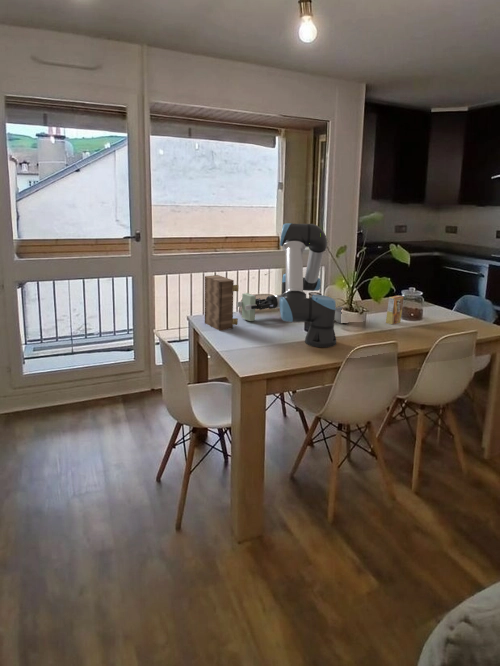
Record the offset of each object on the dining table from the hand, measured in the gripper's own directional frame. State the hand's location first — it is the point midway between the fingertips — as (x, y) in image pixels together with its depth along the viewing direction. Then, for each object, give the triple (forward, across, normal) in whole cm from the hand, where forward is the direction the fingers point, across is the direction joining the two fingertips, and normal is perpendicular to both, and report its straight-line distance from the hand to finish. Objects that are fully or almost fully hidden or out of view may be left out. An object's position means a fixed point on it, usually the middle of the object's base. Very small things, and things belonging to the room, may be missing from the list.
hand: (241, 306), depth 270 cm
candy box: (-76, -43, -9) cm, 88 cm away
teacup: (-51, -27, -9) cm, 59 cm away
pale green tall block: (-5, 0, -8) cm, 9 cm away
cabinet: (+14, -2, -9) cm, 17 cm away
